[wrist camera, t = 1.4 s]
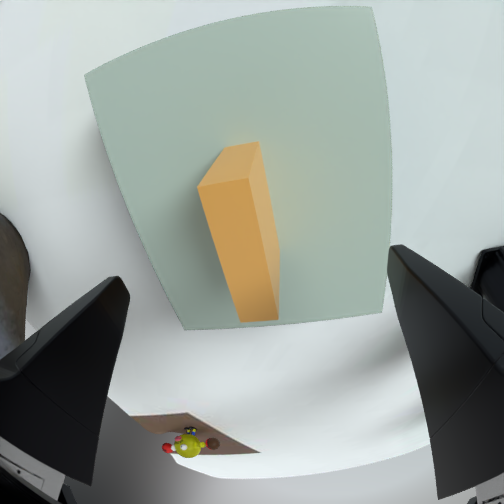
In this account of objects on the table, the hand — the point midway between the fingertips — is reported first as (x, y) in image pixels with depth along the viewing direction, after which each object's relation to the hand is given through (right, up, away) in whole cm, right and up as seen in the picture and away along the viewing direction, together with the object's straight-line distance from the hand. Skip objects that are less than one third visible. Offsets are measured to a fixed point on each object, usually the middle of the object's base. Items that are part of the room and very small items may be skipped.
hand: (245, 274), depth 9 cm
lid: (+1, +4, +7) cm, 8 cm away
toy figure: (-12, -35, +40) cm, 54 cm away
